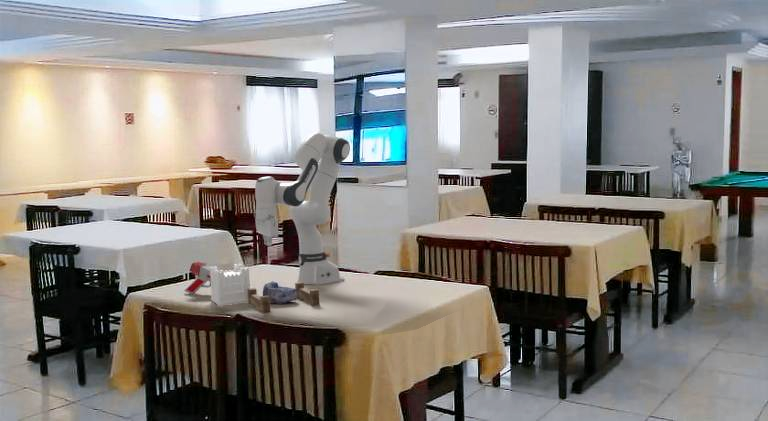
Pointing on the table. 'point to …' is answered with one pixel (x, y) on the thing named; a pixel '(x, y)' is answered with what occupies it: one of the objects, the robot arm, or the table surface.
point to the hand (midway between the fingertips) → (268, 245)
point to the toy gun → (199, 277)
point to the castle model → (230, 285)
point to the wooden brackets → (264, 301)
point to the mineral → (279, 293)
